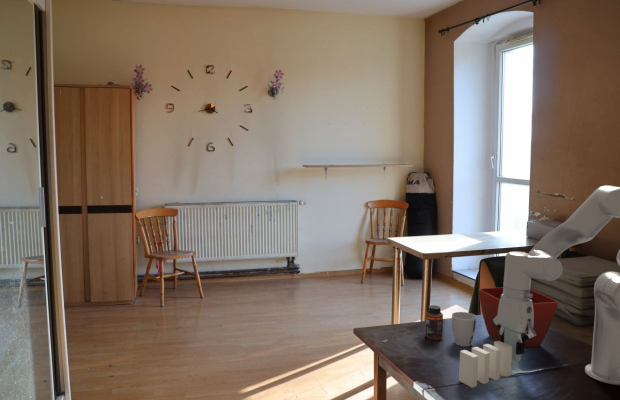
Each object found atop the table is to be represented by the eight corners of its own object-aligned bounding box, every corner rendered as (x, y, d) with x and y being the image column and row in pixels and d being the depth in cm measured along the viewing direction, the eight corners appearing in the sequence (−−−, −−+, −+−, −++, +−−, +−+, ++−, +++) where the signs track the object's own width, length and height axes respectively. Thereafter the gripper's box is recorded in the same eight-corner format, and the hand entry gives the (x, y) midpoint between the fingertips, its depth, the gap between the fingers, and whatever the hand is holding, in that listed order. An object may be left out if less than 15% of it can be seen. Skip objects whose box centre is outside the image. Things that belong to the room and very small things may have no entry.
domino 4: (510, 375, 153) (512, 346, 152) (506, 376, 152) (507, 347, 151) (497, 368, 157) (498, 340, 156) (492, 370, 156) (494, 342, 155)
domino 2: (488, 382, 148) (490, 352, 147) (483, 383, 147) (485, 354, 146) (475, 375, 152) (476, 346, 151) (470, 377, 151) (471, 347, 150)
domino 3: (499, 378, 150) (501, 349, 149) (495, 380, 149) (496, 350, 148) (486, 372, 155) (487, 343, 154) (481, 373, 154) (483, 344, 153)
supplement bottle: (444, 336, 183) (445, 306, 182) (439, 342, 178) (440, 310, 177) (428, 333, 186) (429, 303, 185) (422, 338, 181) (424, 307, 180)
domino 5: (520, 359, 155) (522, 331, 154) (516, 361, 154) (518, 332, 153) (507, 353, 159) (509, 326, 158) (502, 355, 158) (504, 327, 157)
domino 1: (476, 386, 146) (478, 355, 145) (471, 387, 145) (473, 357, 144) (463, 379, 150) (465, 349, 149) (458, 380, 149) (460, 351, 148)
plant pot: (556, 349, 173) (559, 301, 171) (507, 354, 168) (510, 304, 166) (520, 329, 191) (523, 285, 189) (475, 333, 187) (477, 288, 185)
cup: (476, 349, 172) (477, 320, 171) (451, 347, 174) (452, 318, 173) (473, 340, 180) (475, 312, 179) (449, 338, 182) (451, 311, 180)
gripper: (549, 298, 149) (544, 358, 151) (501, 284, 163) (497, 338, 165) (532, 302, 145) (528, 363, 147) (485, 287, 160) (481, 342, 162)
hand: (512, 349), depth 156 cm, fingers closed on domino 5, 4 cm apart
